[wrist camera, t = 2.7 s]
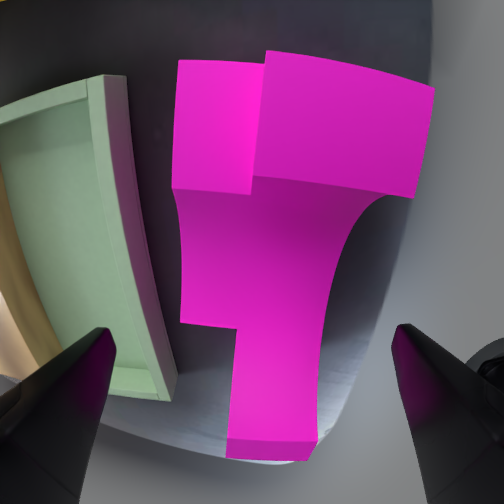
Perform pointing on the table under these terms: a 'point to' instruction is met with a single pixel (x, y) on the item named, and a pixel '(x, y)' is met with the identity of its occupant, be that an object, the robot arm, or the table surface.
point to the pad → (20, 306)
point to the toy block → (281, 216)
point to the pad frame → (87, 225)
